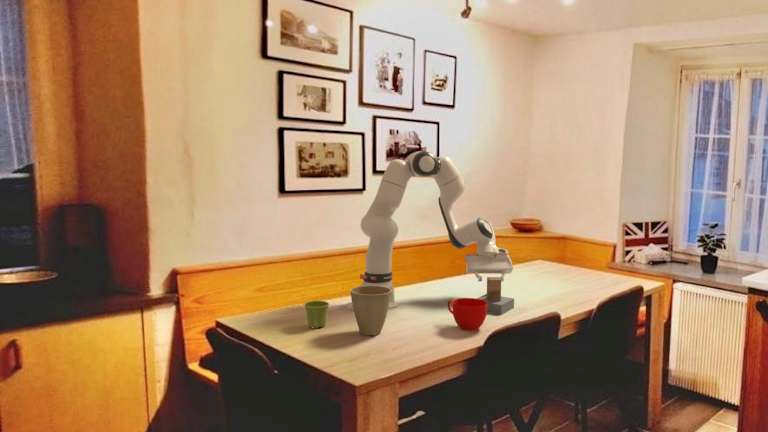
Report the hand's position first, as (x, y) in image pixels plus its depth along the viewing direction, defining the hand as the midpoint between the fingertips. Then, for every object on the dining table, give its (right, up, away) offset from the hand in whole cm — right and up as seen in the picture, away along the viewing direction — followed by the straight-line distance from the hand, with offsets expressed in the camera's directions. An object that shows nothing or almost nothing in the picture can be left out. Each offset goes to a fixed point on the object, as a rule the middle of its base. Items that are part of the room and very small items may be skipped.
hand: (491, 280), depth 245 cm
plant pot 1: (-72, -14, -31) cm, 79 cm away
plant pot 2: (-51, -15, -38) cm, 65 cm away
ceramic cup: (-16, -14, -31) cm, 38 cm away
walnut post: (0, -7, -6) cm, 9 cm away
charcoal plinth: (0, -11, -6) cm, 12 cm away
